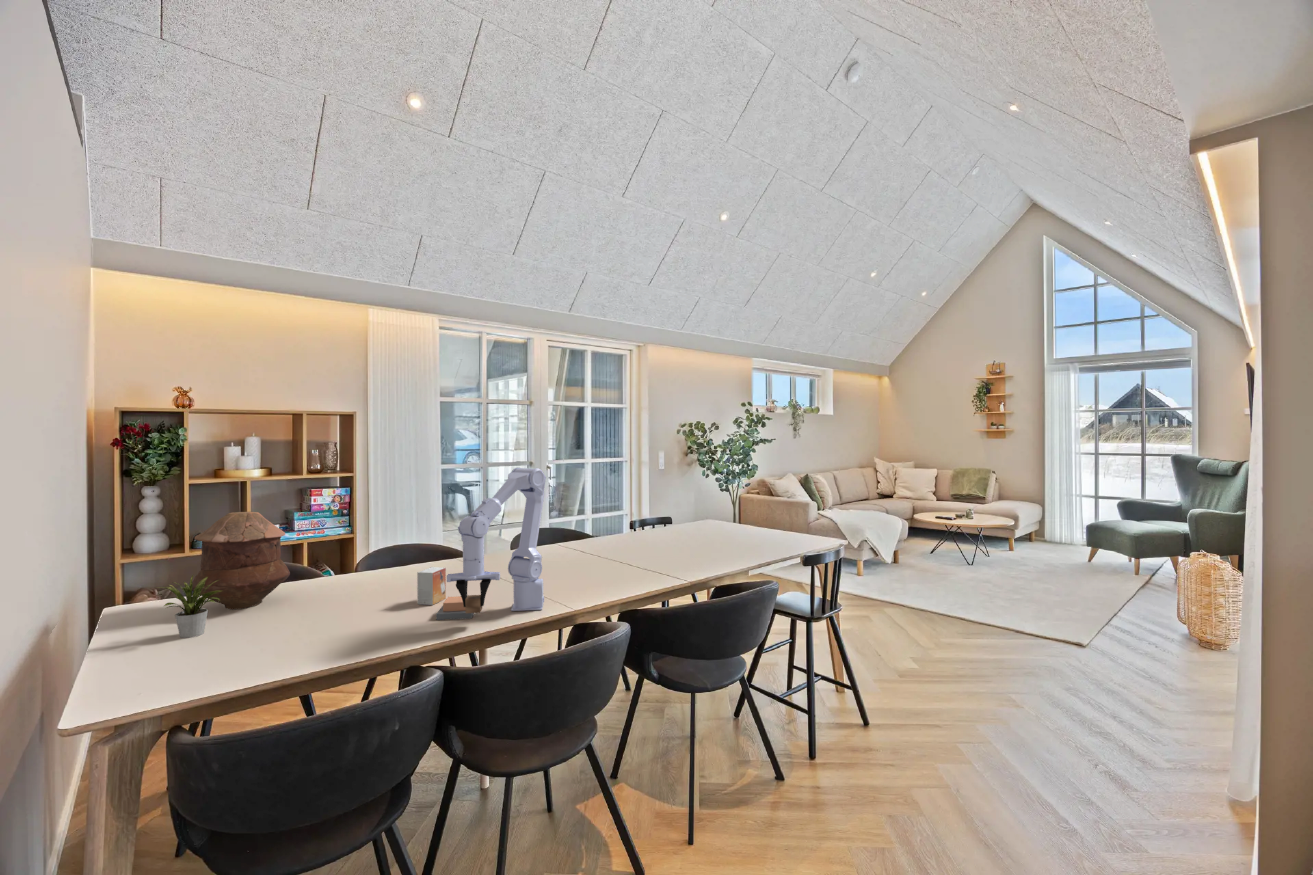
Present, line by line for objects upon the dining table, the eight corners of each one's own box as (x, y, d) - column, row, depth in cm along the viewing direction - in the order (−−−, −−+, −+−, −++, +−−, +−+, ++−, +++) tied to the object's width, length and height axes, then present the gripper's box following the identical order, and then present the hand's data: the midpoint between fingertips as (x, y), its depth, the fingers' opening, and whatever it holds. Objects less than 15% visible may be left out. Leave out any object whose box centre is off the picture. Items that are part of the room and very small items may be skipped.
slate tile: (477, 610, 183) (477, 602, 183) (471, 620, 174) (471, 612, 174) (444, 611, 182) (443, 603, 182) (436, 622, 172) (436, 613, 172)
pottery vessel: (177, 621, 172) (176, 519, 172) (207, 598, 196) (207, 509, 195) (279, 611, 181) (279, 515, 181) (296, 590, 205) (296, 505, 205)
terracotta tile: (471, 603, 182) (471, 595, 182) (467, 610, 175) (467, 602, 175) (448, 604, 181) (448, 596, 181) (443, 611, 174) (443, 603, 174)
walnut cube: (482, 608, 169) (482, 594, 169) (480, 612, 165) (479, 598, 165) (468, 609, 169) (468, 595, 169) (465, 613, 165) (465, 599, 165)
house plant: (164, 649, 149) (164, 585, 149) (144, 639, 156) (143, 578, 156) (229, 633, 161) (228, 574, 161) (207, 624, 169) (206, 568, 168)
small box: (432, 605, 187) (432, 572, 187) (416, 604, 188) (416, 572, 188) (446, 598, 195) (446, 567, 195) (431, 597, 196) (431, 566, 196)
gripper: (444, 562, 162) (444, 611, 162) (497, 560, 164) (498, 608, 164) (449, 556, 169) (450, 603, 169) (500, 555, 171) (501, 601, 171)
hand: (474, 605), depth 167 cm, fingers closed on walnut cube, 4 cm apart
